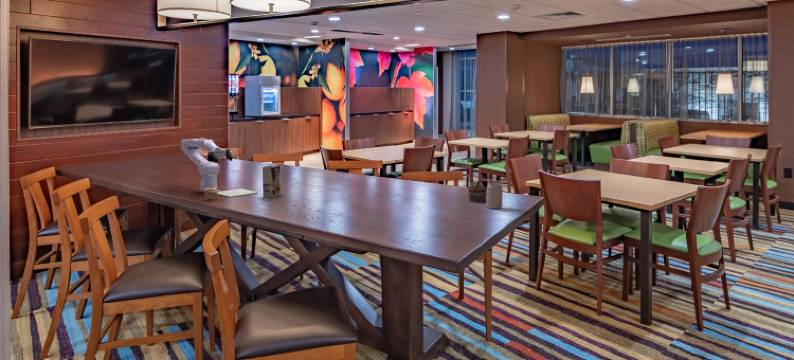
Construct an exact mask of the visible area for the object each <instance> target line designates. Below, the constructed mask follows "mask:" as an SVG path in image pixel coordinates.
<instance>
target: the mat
mask: <svg viewBox="0 0 794 360" xmlns="http://www.w3.org/2000/svg"><path fill="white" fill-rule="evenodd" d="M257 194H259V192H258V191H257V192H256V191H253V190H249V189H245V188H236V189H230V190H223V191H222V190H220V191H219V192H217V196H221V197H222V196H223V197H227V198H230V199H231V198H237V196H238V197H243V196H244V195H245V196H249V195H250V196H251V195H257Z"/></svg>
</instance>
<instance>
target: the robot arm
mask: <svg viewBox="0 0 794 360" xmlns="http://www.w3.org/2000/svg"><path fill="white" fill-rule="evenodd" d="M180 149H181V151H182V152H183V153H184V154H185V155H187V156H188V158H189V160H190V161H192V162H193V163H194V164H195V165H196V166H198V168H197V170H198V172H199V174H200V175H201V177H200V180H199V183H200V186H199V187H200V189H199V190H198V191H199V192H202V193H204V189H206V188H218V182H217V181H218V179H217V176H219V174H220V172H221V171H220V170H221V168H220V164H219V160H221V159H223V158H225V159H226V160H229V161H230V162H233V156H232V155H233V151H231V149H229V148H228V149H222V148H221V147H220V146H218V145H217V144H216V142H215V140H213V139H207V138H204V137H200V138H188V139H182V140H181V141H180ZM204 151H205V152H206V153H204V155H203V156H202V154H201V153H202V152H204ZM217 192H221V190H220V189H218V191H217Z"/></svg>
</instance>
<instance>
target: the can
mask: <svg viewBox="0 0 794 360" xmlns="http://www.w3.org/2000/svg"><path fill="white" fill-rule="evenodd" d="M503 189H504V187H503V185H502V183H500V182H489V183H488V184H487V186H486V191H487V196H486V201H485V203H486V204H485V205H486V207H487V208H488V209H489V210H499V209H500V210H501V208H502V207H503V193H504V192H503Z"/></svg>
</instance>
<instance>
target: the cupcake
mask: <svg viewBox="0 0 794 360" xmlns="http://www.w3.org/2000/svg"><path fill="white" fill-rule="evenodd" d="M467 192H468V198H469V202H471V203H486V201H487V187H486V186H485V185H483V183H481V181H480V180H478V181H476V182H475V181H471V182H470V185H469V186H468V190H467Z"/></svg>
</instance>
